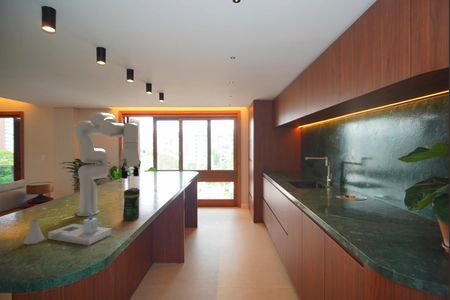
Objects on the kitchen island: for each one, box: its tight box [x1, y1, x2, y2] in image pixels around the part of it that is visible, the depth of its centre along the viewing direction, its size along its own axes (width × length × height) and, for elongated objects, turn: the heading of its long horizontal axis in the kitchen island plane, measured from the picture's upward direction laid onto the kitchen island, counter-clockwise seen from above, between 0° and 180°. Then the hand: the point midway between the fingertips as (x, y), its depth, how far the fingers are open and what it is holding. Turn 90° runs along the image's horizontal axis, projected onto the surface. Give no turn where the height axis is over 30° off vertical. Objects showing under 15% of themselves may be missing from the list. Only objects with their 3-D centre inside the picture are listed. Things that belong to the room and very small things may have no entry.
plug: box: [83, 213, 98, 234], centre depth 109 cm, size 5×4×12 cm
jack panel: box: [48, 223, 112, 246], centre depth 110 cm, size 24×13×4 cm, turn 74°
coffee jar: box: [122, 187, 140, 222], centre depth 139 cm, size 10×8×19 cm
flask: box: [22, 218, 45, 246], centre depth 104 cm, size 7×7×10 cm
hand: (130, 177), depth 125 cm, fingers open, 9 cm apart
